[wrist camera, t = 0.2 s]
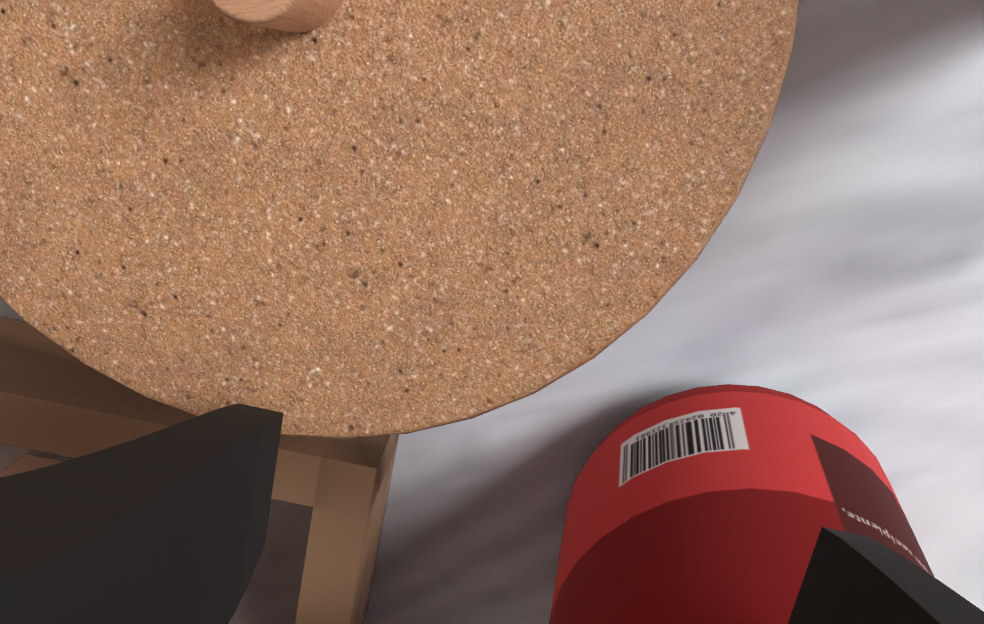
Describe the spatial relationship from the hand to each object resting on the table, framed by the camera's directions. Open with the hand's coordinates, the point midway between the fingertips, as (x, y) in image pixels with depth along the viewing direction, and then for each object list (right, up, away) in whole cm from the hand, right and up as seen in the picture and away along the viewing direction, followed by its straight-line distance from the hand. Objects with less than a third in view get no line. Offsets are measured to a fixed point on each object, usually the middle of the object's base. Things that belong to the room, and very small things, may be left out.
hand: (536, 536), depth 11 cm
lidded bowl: (-2, +10, +8) cm, 13 cm away
